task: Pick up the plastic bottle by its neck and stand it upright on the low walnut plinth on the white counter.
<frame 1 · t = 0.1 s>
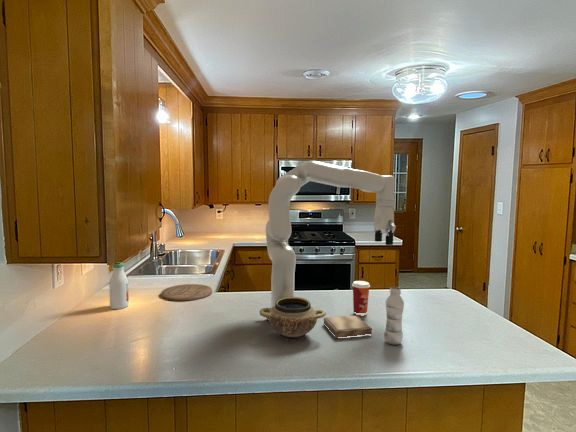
hand: (383, 243, 159), 31 cm above the worktop, fingers open, 9 cm apart
ceramic bowl: (292, 336, 135), on the worktop
plastic bottle: (393, 343, 130), on the worktop
trivet: (187, 294, 186), on the worktop
paper cup: (360, 314, 159), on the worktop
plinth: (346, 330, 141), on the worktop
milk bottle: (119, 307, 164), on the worktop
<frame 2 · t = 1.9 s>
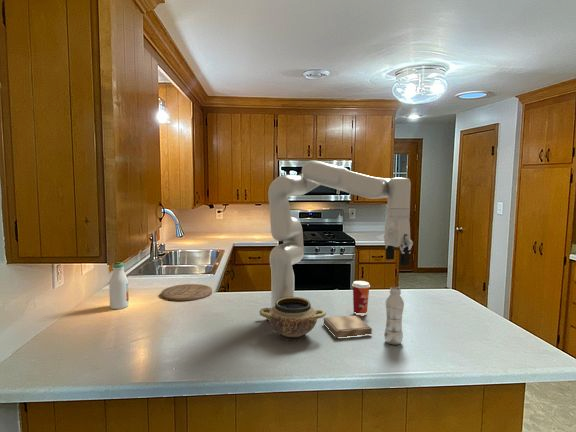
hand: (396, 262, 128), 29 cm above the worktop, fingers open, 9 cm apart
nothing on the worktop moved.
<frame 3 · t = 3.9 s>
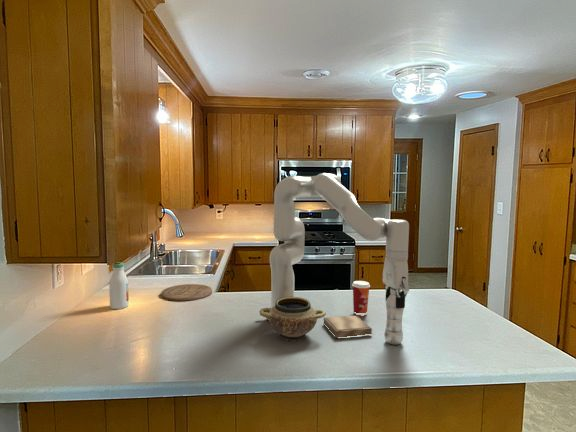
hand: (394, 304, 129), 14 cm above the worktop, fingers closed on plastic bottle, 6 cm apart
plastic bottle: (393, 343, 130), on the worktop, touching gripper
everything else where it was.
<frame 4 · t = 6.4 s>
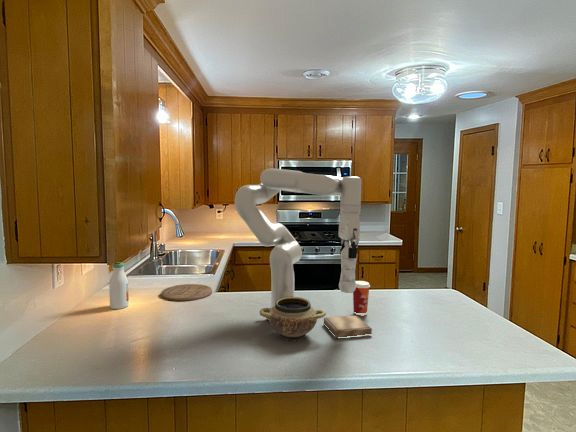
hand: (348, 256, 139), 29 cm above the worktop, fingers closed on plastic bottle, 6 cm apart
plastic bottle: (347, 292, 140), point 15 cm above the worktop, touching gripper
everything else where it was.
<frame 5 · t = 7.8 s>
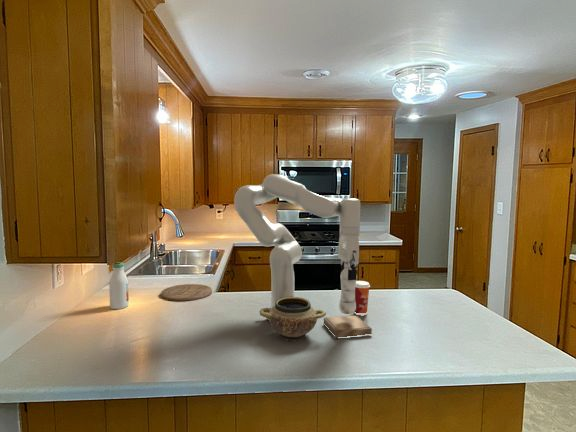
hand: (348, 277, 139), 21 cm above the worktop, fingers closed on plastic bottle, 6 cm apart
plastic bottle: (347, 313, 141), point 7 cm above the worktop, touching gripper
everything else where it was.
when the fingers open (18 cm above the worktop, at t = 8.9 s): plastic bottle stays where it is, resting on plinth.
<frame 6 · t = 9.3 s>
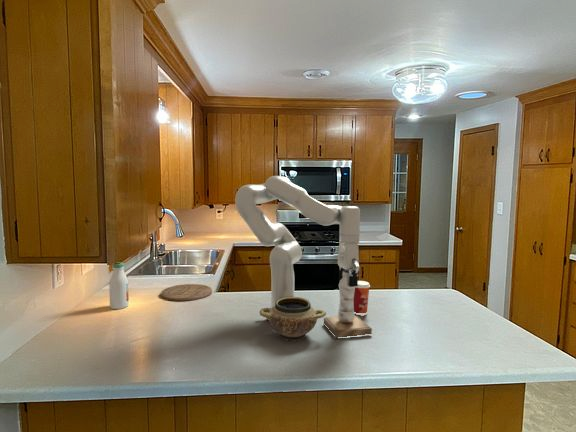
hand: (348, 282, 139), 19 cm above the worktop, fingers open, 9 cm apart
plastic bottle: (345, 322, 141), point 3 cm above the worktop, touching plinth
everything else where it was.
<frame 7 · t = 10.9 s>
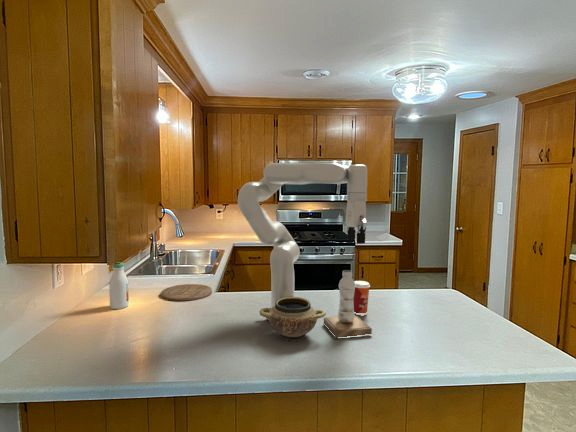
hand: (355, 241, 141), 34 cm above the worktop, fingers open, 9 cm apart
nothing on the worktop moved.
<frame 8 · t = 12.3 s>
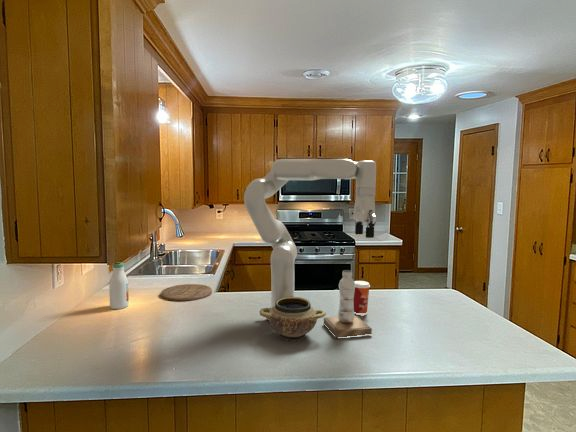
hand: (364, 235, 144), 36 cm above the worktop, fingers open, 9 cm apart
nothing on the worktop moved.
at the end: plastic bottle inside the target area on the plinth (0.5 cm from its centre), point 3.0 cm above the plinth's base; plastic bottle tilted 0°; the gripper is holding nothing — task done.
